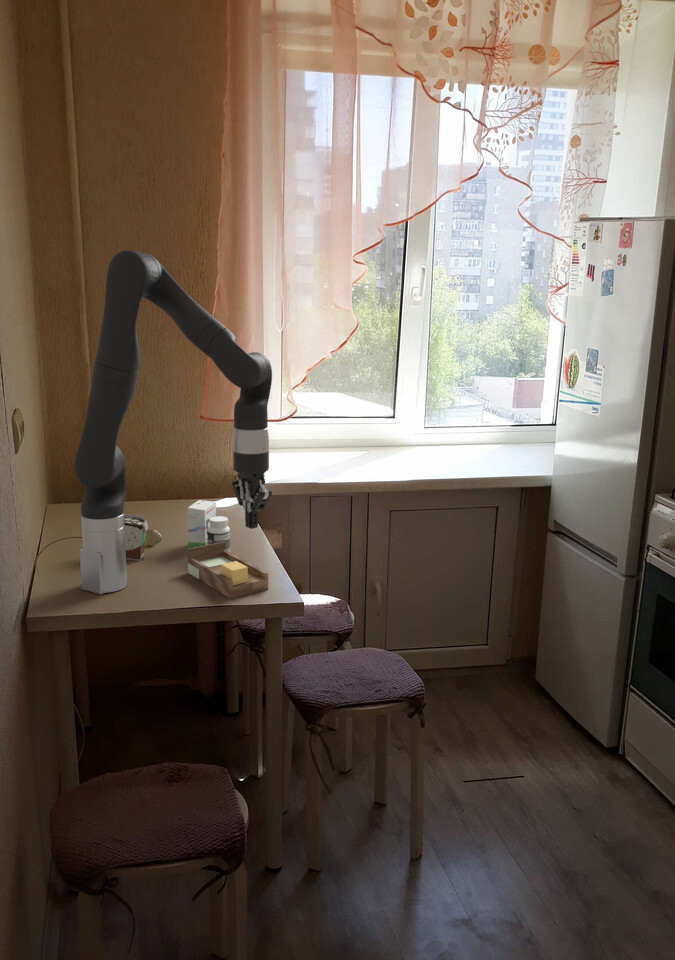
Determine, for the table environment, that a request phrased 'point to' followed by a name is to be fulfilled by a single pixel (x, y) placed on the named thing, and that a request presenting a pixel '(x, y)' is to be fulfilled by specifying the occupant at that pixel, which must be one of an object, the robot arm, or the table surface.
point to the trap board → (220, 582)
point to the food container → (135, 536)
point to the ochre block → (235, 572)
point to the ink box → (199, 522)
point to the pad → (209, 563)
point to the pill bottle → (219, 531)
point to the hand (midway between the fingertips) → (251, 527)
